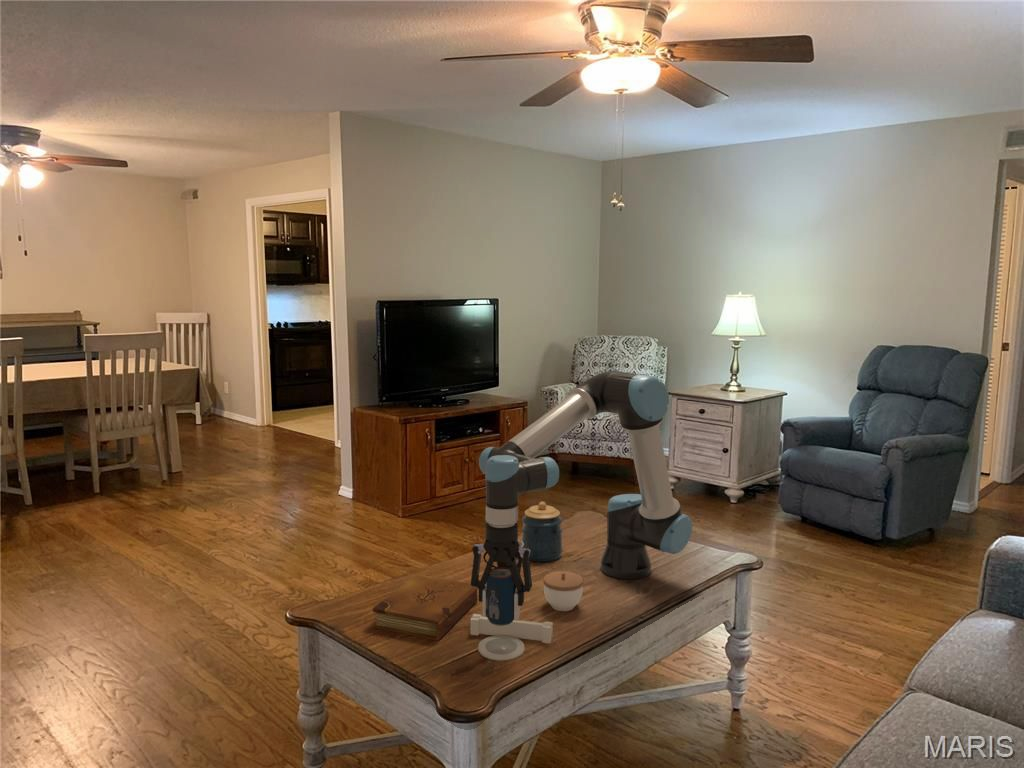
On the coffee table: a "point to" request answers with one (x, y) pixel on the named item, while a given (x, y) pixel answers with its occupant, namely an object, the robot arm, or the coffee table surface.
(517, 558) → the coffee mug
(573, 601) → the lidded jar
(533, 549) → the canister
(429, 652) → the coffee table surface
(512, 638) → the coaster
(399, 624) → the diary
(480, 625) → the divider
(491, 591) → the soda can
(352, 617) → the coffee table surface
